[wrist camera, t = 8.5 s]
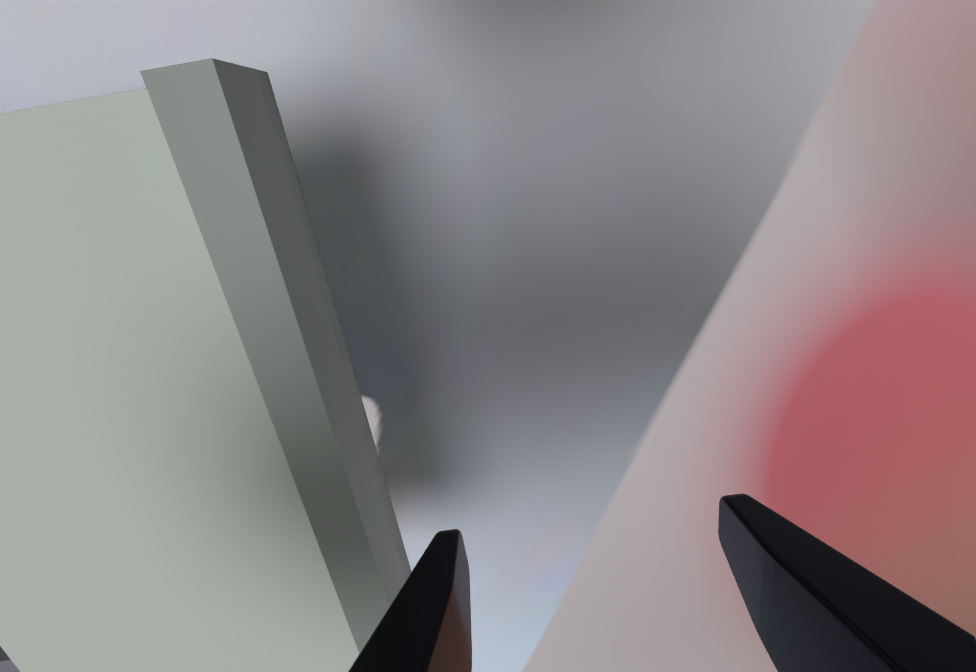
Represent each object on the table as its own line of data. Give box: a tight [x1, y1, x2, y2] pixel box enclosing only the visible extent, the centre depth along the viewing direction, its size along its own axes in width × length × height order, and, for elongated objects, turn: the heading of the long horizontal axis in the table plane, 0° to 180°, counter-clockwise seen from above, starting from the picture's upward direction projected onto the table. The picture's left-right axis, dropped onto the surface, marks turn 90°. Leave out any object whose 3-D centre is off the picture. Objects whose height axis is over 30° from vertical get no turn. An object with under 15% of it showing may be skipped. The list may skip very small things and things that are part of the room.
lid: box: [0, 59, 411, 672], centre depth 13 cm, size 13×17×2 cm
